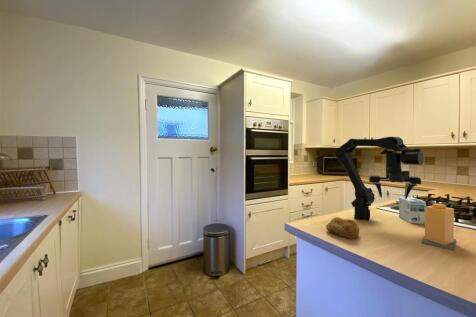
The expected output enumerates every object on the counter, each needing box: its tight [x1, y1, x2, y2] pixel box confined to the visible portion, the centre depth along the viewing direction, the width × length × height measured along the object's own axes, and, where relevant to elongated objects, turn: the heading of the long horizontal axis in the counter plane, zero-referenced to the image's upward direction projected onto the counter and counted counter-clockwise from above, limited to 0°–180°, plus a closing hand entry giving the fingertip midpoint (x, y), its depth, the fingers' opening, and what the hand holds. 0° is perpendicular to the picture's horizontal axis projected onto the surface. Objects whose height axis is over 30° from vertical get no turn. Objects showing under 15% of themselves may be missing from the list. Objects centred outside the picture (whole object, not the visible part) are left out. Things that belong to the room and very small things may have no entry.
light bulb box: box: [398, 196, 427, 225], centre depth 105 cm, size 11×7×11 cm, turn 168°
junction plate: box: [421, 236, 457, 251], centre depth 80 cm, size 12×8×5 cm
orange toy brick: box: [424, 203, 455, 245], centre depth 80 cm, size 6×6×14 cm
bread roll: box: [325, 216, 360, 240], centre depth 89 cm, size 13×10×8 cm
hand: (393, 198), depth 97 cm, fingers open, 9 cm apart
